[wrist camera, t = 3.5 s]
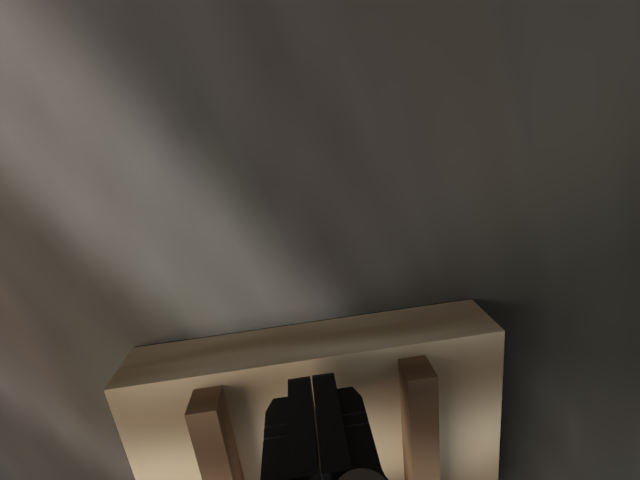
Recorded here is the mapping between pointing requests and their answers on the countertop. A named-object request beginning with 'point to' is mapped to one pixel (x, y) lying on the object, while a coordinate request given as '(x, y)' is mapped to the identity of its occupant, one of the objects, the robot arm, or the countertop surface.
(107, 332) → the countertop surface
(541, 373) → the countertop surface
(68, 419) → the countertop surface
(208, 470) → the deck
